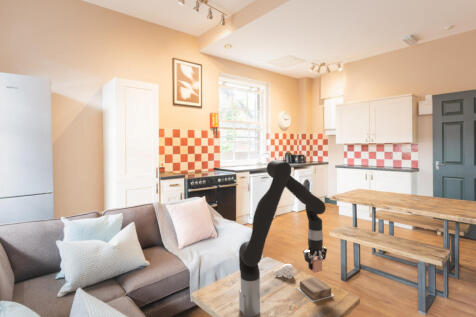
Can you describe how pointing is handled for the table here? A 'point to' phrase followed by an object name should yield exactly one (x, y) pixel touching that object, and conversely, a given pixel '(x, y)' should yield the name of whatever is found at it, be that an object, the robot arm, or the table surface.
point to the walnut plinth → (315, 288)
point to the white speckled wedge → (284, 271)
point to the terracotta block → (317, 265)
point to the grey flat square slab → (311, 298)
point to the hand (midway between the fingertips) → (315, 268)
